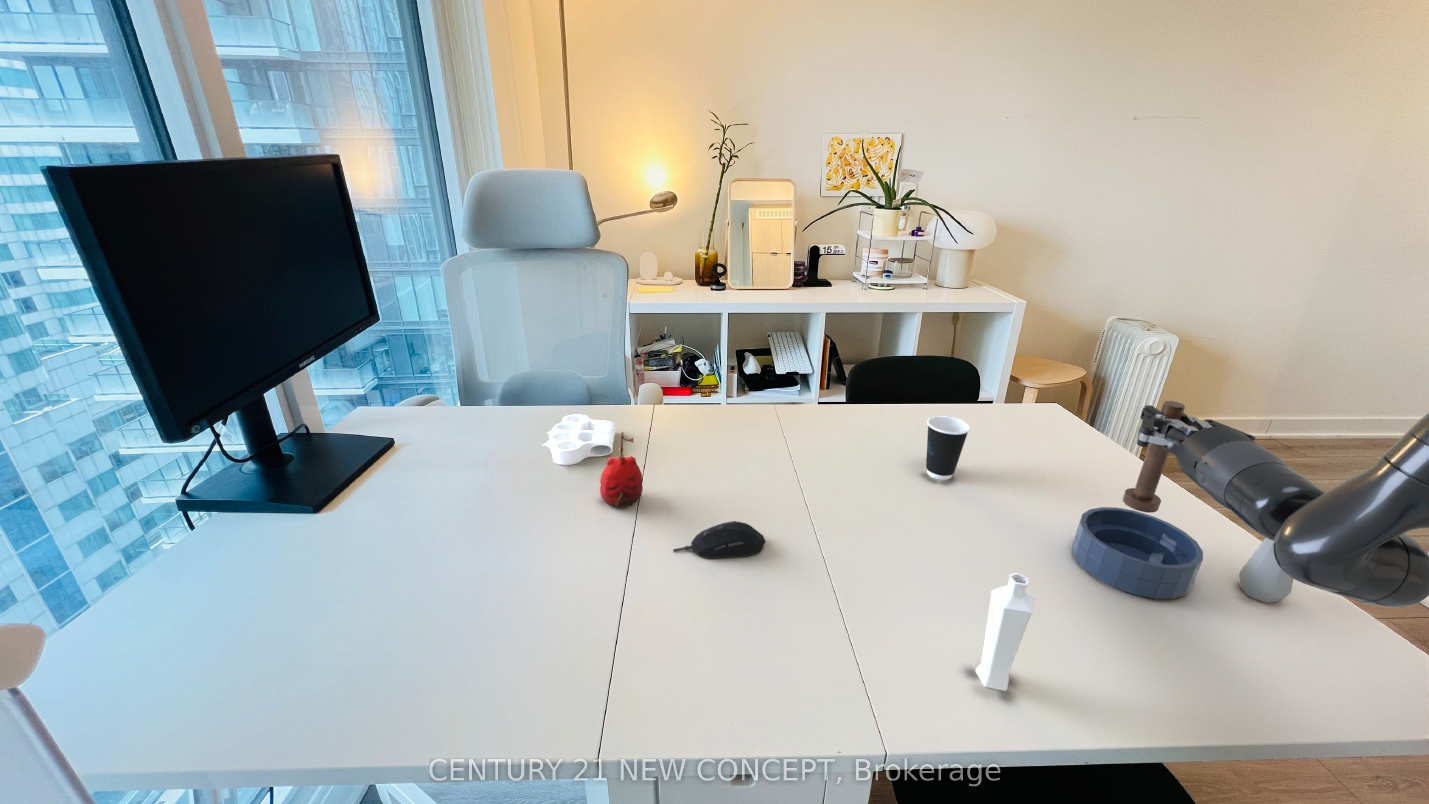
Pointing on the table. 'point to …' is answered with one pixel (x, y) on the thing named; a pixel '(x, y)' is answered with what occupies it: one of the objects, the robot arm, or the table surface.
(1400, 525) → the robot arm
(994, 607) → the perfume bottle
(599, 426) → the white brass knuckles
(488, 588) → the table surface
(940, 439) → the dixie cup
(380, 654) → the table surface
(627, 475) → the red clay folk toy
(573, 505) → the table surface
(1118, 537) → the bowl
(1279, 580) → the salt shaker
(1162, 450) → the pestle
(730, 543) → the gaming mouse
